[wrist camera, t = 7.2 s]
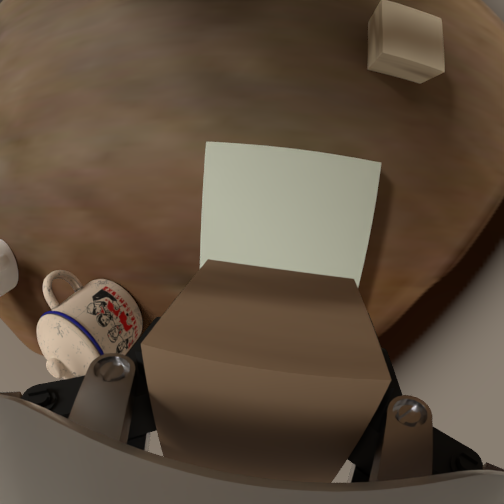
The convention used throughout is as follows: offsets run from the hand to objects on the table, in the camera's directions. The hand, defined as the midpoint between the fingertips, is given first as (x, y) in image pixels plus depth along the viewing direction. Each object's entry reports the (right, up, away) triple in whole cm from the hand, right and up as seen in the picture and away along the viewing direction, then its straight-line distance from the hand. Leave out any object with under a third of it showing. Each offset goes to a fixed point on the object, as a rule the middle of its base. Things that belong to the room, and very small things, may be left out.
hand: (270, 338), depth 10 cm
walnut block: (0, 0, 0) cm, 1 cm away
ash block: (+12, +20, +8) cm, 25 cm away
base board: (+2, +5, +15) cm, 16 cm away
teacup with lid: (-17, -3, +21) cm, 27 cm away
